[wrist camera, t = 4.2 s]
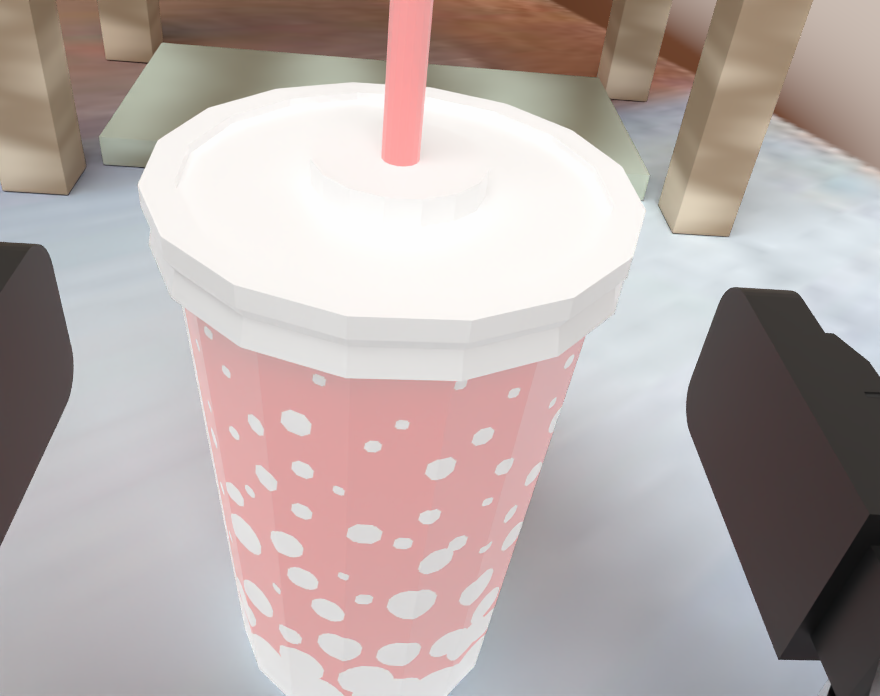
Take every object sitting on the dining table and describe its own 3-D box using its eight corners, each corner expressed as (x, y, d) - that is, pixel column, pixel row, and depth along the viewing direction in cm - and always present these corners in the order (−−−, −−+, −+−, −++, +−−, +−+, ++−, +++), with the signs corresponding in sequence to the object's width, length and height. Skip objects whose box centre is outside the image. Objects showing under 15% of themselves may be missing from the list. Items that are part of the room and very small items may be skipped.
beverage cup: (578, 724, 14) (981, -306, 6) (211, 809, 13) (3, -453, 4) (473, 468, 19) (609, -318, 10) (193, 507, 17) (76, -391, 9)
